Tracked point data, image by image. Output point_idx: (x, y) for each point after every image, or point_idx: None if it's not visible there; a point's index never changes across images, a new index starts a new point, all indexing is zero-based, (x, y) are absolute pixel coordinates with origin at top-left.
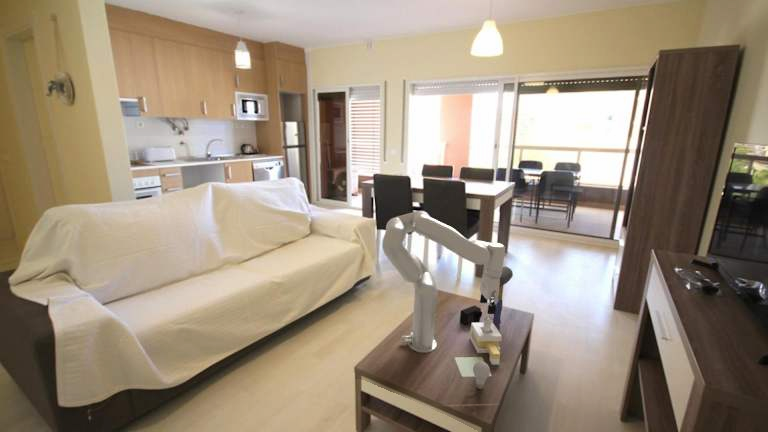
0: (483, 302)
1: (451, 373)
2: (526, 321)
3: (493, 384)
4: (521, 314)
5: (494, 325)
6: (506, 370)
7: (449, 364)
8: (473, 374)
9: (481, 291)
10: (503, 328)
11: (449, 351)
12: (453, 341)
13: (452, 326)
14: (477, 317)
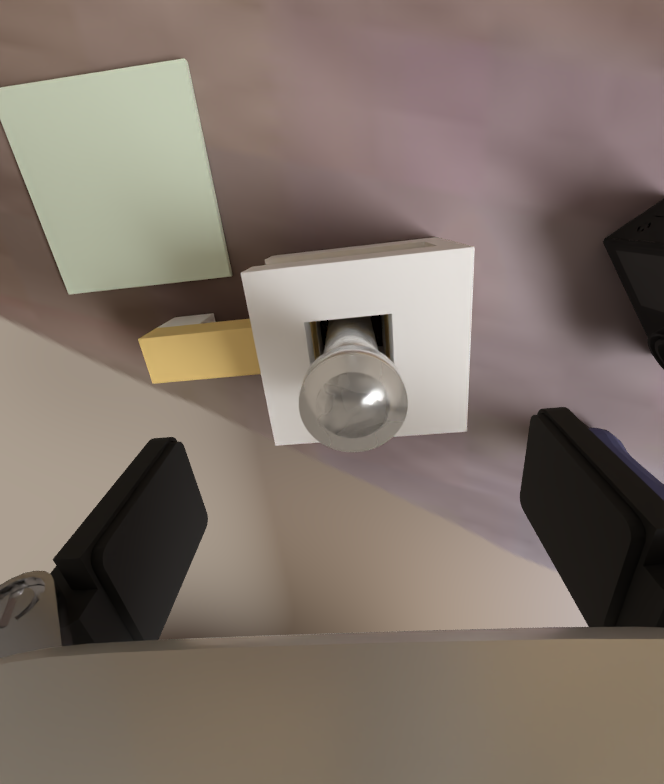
0: (530, 458)
1: (9, 7)
2: None
3: (17, 287)
4: None
5: (421, 433)
6: None
7: (107, 4)
8: (42, 180)
9: (598, 717)
10: None
11: (269, 28)
12: (406, 90)
13: (626, 115)
14: (657, 343)
